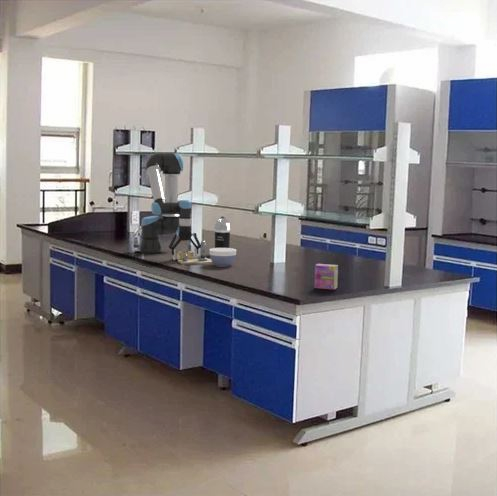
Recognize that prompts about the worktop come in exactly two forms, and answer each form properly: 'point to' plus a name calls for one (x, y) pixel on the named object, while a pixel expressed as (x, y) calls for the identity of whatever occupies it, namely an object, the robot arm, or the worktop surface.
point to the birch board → (195, 262)
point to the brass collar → (180, 253)
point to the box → (326, 276)
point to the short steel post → (185, 257)
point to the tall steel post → (203, 251)
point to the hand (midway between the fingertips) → (185, 259)
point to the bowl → (222, 256)
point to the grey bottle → (222, 233)
